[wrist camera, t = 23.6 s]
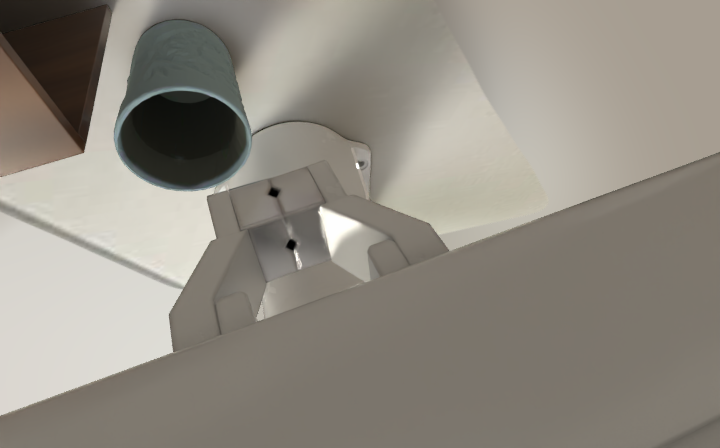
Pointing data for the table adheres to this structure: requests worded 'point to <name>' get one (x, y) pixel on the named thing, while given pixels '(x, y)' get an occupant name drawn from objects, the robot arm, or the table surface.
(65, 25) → the cabinet
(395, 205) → the table surface
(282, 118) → the table surface
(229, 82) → the green cup
